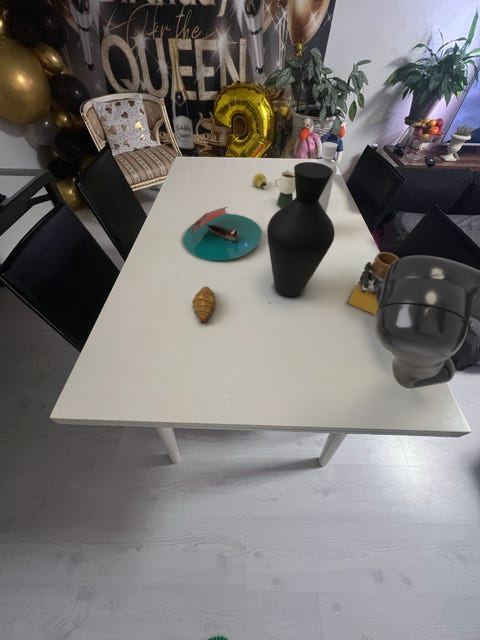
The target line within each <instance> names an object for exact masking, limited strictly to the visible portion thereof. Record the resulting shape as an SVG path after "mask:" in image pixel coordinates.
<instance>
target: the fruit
mask: <svg viewBox="0 0 480 640" xmlns="http://www.w3.org/2000/svg"><path fill="white" fill-rule="evenodd" d="M252 184H253V186H254V187H256V188H259V189H265V190H268V188H267V185H268V182H267V178H266V175H265V174H263V173H261V172H257V173H255V174H254V175H253V177H252Z"/></svg>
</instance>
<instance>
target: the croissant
mask: <svg viewBox="0 0 480 640" xmlns="http://www.w3.org/2000/svg"><path fill="white" fill-rule="evenodd" d="M191 303H192V307H193V309H194V313H195V315H196V316H197V318H198V320H199V321H200V323H201V324H206V323H208V321H209V319H210V318H211V316H212V314H213V312H214V309H215V307H216V304H217V299H216V297H215V296H214V292H213V291H212V289H211V288H210V287H209V286H203V287H201V289H200V290H198V292H197V293H195V295H194V297H193V299H192V302H191Z"/></svg>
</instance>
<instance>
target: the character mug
mask: <svg viewBox="0 0 480 640" xmlns="http://www.w3.org/2000/svg"><path fill="white" fill-rule="evenodd" d="M273 187H277V188H278V191H279V195H278V198H277V201H276V202H277V203H276V204H277V206H278V207H279V208H280V209H282V208H283V207H285V206H286V205H287V204H289V203H290V202H291V201H292V200H294V198H293V197H294V195H293V194H294V193H296V188H295V174H294V170H293V171H292V170H283V171H281V172H280V173H279V177H274V181H273Z"/></svg>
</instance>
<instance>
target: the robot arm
mask: <svg viewBox="0 0 480 640" xmlns="http://www.w3.org/2000/svg"><path fill="white" fill-rule="evenodd" d="M372 264H373V263H372V262H371V261H367V263H365V265H364V268H363V271H362V273H361V275H360V277H359V281H360V285H361V292H363V293H366V291H372V292H373V293H374V294H375V295H376V300H377V304H378V308H377V311H376V315H375V314H374V322H373V329H374V330H373V332H374V335H375V337H376V340H377V341H378V342H379V344H380V345H381V346H382V347H383V348H385V349H386V350H387V351H388V352H389V353H391V354H392V355H393V359H392V363H391V364H392V365H391V370H392V374H393V378H394V379H395V381H396V382H397V384H398V385H400V386H401V387H402V388H405V389H408V390H409V389H418V388H424V387H428V386H429V387H430V386H435V385H440V384H445V383H448V382H451V381H452V379H454V376H455V373H456V368H455V364H454V362H453V360H452V357H453V356H454V355H455V354H456V353H457V352H458V351H459V350H460V348H461V346H462V345H463V343H464V342H465V339H466V336H467V333H468V328H469V322H470V317H471V318H473V319H475V320H477V321H478V322H480V270H479V269H477V268H474V267H472V266H469V265H467V264H464V263H461V262H458V261H456V260H455V261H454V260H452V259H448V258H445V257H439V256H434V255H422V254H420V255H419V254H417V255H416V254H415V255H408V256H402V257H400V258H399V259H398V260H396V261H394V262H393V263H392V264H391V265H390V267H389V268H388V271H387V273H386V276H385V278H383V277H382V276H381V275H380V274H376V273H375V272H374V269H373V267H372ZM372 276H373V278H372ZM378 280H379V281H378ZM377 281H378V282H377Z"/></svg>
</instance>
